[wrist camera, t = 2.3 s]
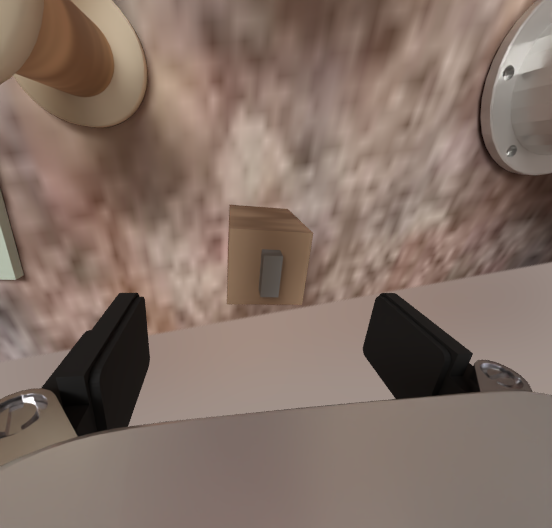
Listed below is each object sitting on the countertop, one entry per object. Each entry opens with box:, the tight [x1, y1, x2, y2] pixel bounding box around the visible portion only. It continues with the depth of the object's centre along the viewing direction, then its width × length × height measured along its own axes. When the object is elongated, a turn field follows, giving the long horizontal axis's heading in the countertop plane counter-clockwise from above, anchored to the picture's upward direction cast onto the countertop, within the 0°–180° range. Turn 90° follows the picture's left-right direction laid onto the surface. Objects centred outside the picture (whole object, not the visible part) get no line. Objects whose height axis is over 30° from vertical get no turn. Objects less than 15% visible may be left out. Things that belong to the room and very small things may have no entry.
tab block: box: [227, 205, 313, 305], centre depth 18 cm, size 4×4×8 cm
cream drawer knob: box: [0, 0, 147, 128], centre depth 11 cm, size 7×7×11 cm
